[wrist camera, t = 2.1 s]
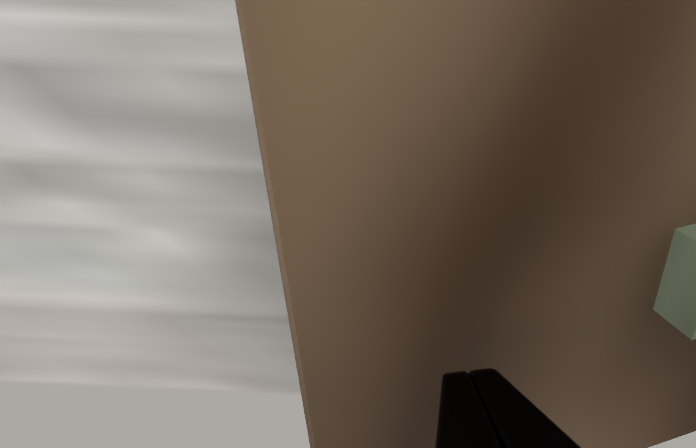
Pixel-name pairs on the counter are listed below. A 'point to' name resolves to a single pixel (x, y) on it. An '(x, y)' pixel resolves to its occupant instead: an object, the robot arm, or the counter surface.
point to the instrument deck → (483, 208)
